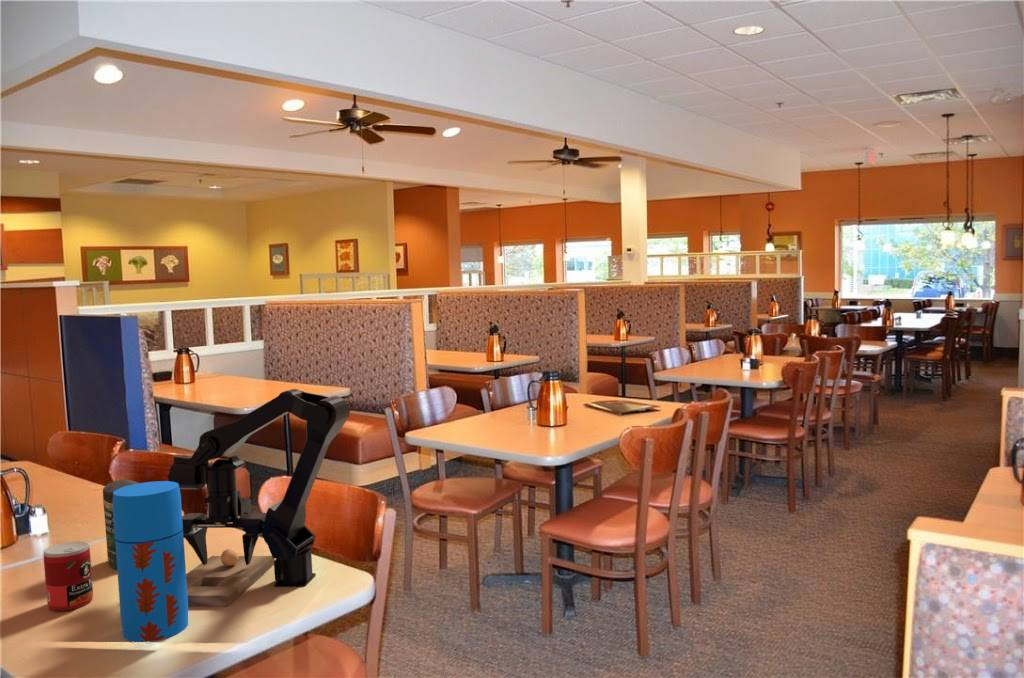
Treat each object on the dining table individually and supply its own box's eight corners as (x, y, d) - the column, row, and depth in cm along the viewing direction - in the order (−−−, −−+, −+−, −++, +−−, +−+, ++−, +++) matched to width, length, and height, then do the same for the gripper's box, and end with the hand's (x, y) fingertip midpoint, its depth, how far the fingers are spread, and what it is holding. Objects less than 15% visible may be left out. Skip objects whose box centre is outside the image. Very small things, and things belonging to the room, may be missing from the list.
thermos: (136, 618, 146) (126, 482, 144) (197, 614, 147) (188, 479, 145) (111, 645, 135) (101, 498, 134) (177, 640, 136) (167, 494, 134)
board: (274, 565, 172) (274, 555, 172) (227, 606, 150) (227, 595, 150) (212, 565, 174) (211, 555, 173) (156, 605, 152) (156, 595, 152)
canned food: (74, 612, 150) (69, 554, 149) (37, 610, 152) (32, 553, 151) (102, 596, 158) (98, 541, 157) (67, 595, 159) (63, 540, 159)
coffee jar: (103, 564, 177) (97, 481, 176) (141, 555, 182) (136, 474, 181) (116, 575, 169) (109, 488, 168) (155, 565, 175) (149, 481, 173)
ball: (242, 562, 168) (241, 546, 168) (234, 568, 165) (233, 551, 165) (226, 562, 169) (225, 546, 168) (218, 568, 165) (217, 551, 165)
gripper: (281, 479, 171) (285, 551, 172) (197, 480, 173) (202, 551, 174) (259, 492, 160) (264, 569, 161) (170, 493, 162) (175, 569, 163)
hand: (226, 564), depth 165 cm, fingers open, 9 cm apart
